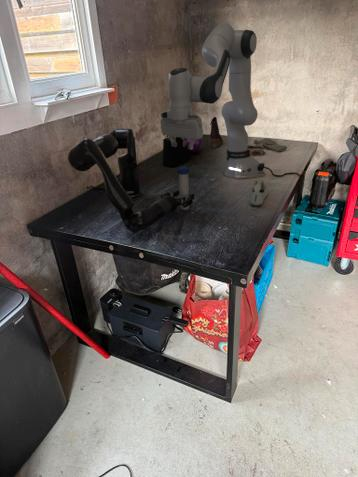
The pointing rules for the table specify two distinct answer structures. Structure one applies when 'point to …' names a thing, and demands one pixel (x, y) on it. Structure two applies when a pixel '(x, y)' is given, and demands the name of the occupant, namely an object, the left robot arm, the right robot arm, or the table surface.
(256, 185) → the ballet flat
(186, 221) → the table surface
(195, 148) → the decorative orb
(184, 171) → the lid
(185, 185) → the bottle
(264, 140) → the pair of gloves
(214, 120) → the boot
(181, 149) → the handbag
